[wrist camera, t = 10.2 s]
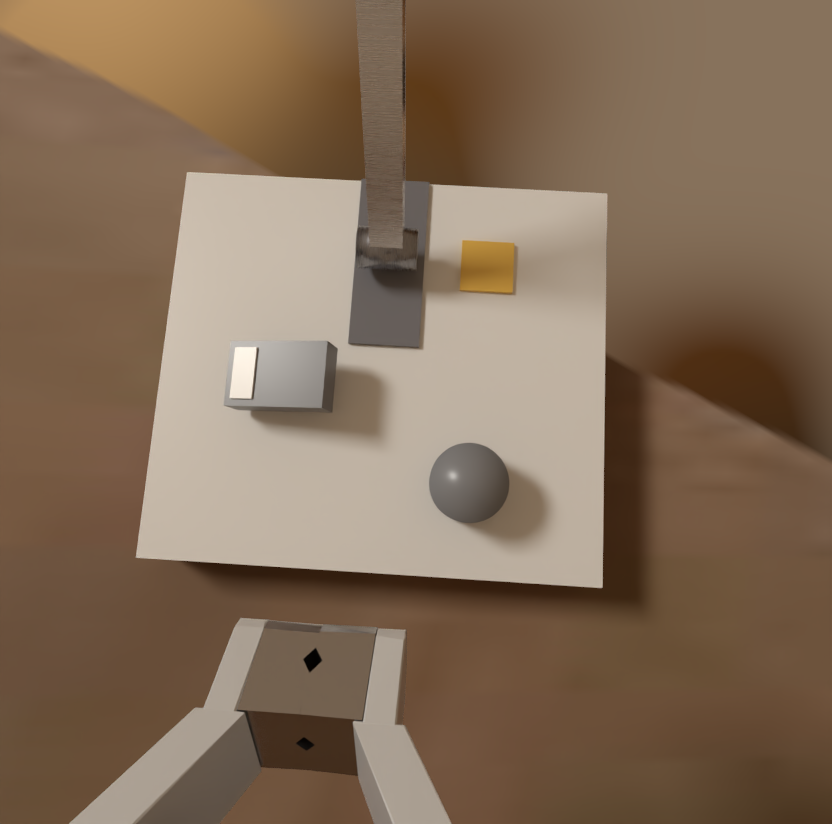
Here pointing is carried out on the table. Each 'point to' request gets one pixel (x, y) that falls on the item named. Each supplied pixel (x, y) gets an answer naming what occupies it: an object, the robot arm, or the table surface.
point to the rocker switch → (281, 376)
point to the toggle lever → (384, 137)
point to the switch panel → (385, 382)
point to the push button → (469, 483)
